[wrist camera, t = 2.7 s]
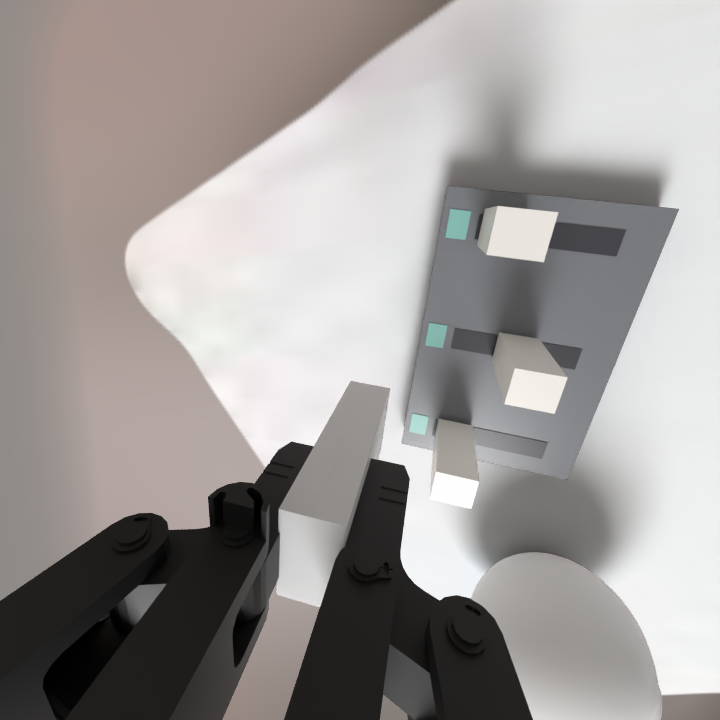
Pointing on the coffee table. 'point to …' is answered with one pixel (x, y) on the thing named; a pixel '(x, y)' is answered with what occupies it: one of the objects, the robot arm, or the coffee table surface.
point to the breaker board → (530, 322)
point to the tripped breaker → (527, 373)
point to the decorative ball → (570, 640)
